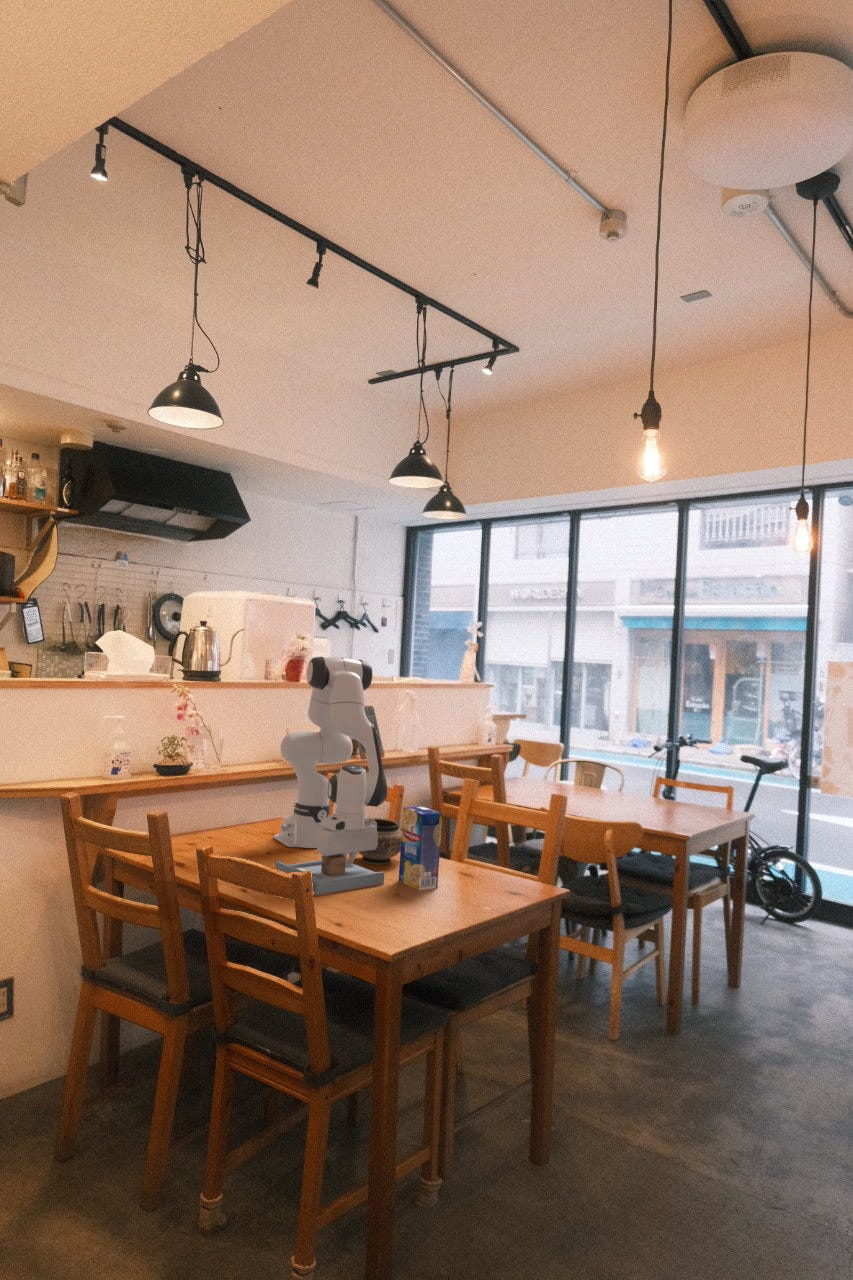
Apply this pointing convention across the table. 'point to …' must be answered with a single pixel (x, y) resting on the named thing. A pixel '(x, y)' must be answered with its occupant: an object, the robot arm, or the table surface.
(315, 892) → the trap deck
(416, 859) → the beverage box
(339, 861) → the block
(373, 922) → the table surface
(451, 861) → the table surface
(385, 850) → the ceramic bowl
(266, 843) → the table surface
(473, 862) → the table surface
